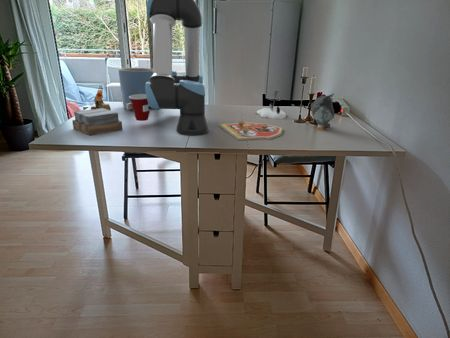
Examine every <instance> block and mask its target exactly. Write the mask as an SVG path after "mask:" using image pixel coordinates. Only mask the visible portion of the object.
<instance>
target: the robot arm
mask: <svg viewBox="0 0 450 338" xmlns="http://www.w3.org/2000/svg"><path fill="white" fill-rule="evenodd" d="M146 17H147V18H148V19H149V21H150V23H151V24H152V25H153V35H152V36H153V37H152V39H153V40H152V42H153V43H152V47H153V50H152V69H153V75H152V76H151V77H150V79H149V82H147V83H146V86H145V88H146V96H147V101H148V104H149V105H144V106H143V112H145V111H149V112H150V111H152V109H153V110H154V111H155V110H179V117H178V122H177V125H176V132H177V133H178V134H180V135H185V136H201V135H205V134H208V132H209V126H208V123H207V119H206V110H205V109H206V107H205V106H206V103H205V102H206V88H205V85H204V84H203V83H204V82H203V81H204V78H203V75H202V74H201V75H200V45H201V44H200V40H201V39H200V36H201V35H200V34H201V33H200V31H201V30H200V28H201V27H202V25H203V18H202V14H201V11H200V8H199V6H198V4H197V2H196V1H195V0H146ZM178 21H181V26H182V27H183V28H184V31H183V32H184V35H183V36H184V66H185V74H178V73H177V71H176V70H173V27H175V25H176V23H177V22H178ZM125 108H126V111H127V110H128V111H129V109H131V110H133V106H132V103H128V104H126V107H125Z"/></svg>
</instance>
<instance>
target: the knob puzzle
mask: <svg viewBox="0 0 450 338" xmlns="http://www.w3.org/2000/svg"><path fill="white" fill-rule="evenodd" d="M218 126H219V127H220V128H221V129H222V130H223V131H225V132H226V134H229V135H230V136H232V137H233V138H235V140H237V141H248V140H249V141H250V140H272V139H275V138H277V137H280V136H281V135H282V134H283V127H280V126H277V125H272V124H268V123H261V122H259V123H258V122H249V121H248V122H247V121H244V120H239V121H238V122H235V123H233V122H232V123H231V122H230V123H219V125H218Z"/></svg>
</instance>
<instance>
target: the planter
mask: <svg viewBox="0 0 450 338" xmlns="http://www.w3.org/2000/svg"><path fill="white" fill-rule="evenodd" d="M117 70H118V77H119V85H120V92H121V98H122V99H121V101H122V105H123V107H124V108H126V104H128V103H131V100H130V98H129V96H131V95H136V94H146V88H145V86H146V83H147V82H149V79H150V77H151V76H152V75H153V68H145V67H122V68H121V67H120V68H118V69H117ZM129 110H132V109H129ZM129 110H128V111H129ZM152 110H154V109H152ZM152 110H151V111H152Z"/></svg>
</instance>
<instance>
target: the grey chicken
mask: <svg viewBox="0 0 450 338" xmlns="http://www.w3.org/2000/svg"><path fill="white" fill-rule="evenodd" d="M335 94H336V93H332V94H328V95H320V96H318V97H317V98H316V99H315V100H314V101H312V102H311V103H310V110H311V114H312V119H314V121H315V122H316V123H314V125H315V126H317V128H316V130H318V131H324V129H325V128H329V127H330V125H331V123H329V122H330V121H332V120H333V119H334V118H335V109H334V105H333V101H332V99H331V98H332V97H333V96H334V95H335Z"/></svg>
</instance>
